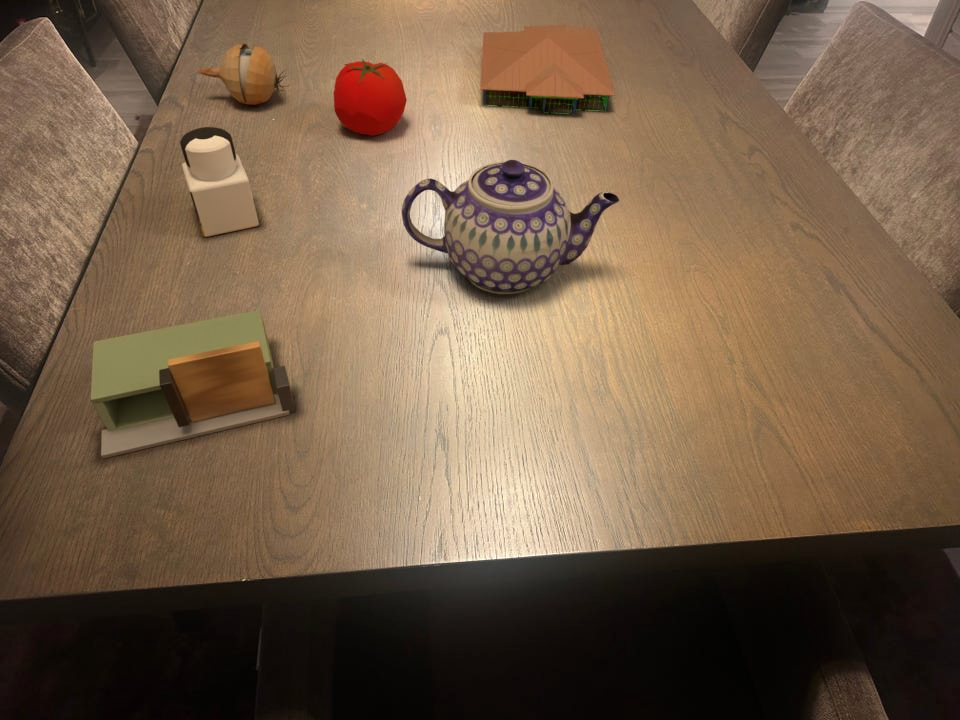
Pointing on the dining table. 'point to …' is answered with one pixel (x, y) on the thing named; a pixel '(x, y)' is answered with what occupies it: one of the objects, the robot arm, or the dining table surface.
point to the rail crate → (136, 386)
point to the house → (546, 64)
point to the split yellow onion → (247, 74)
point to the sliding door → (216, 383)
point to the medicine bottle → (217, 182)
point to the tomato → (369, 97)
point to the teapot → (508, 226)
